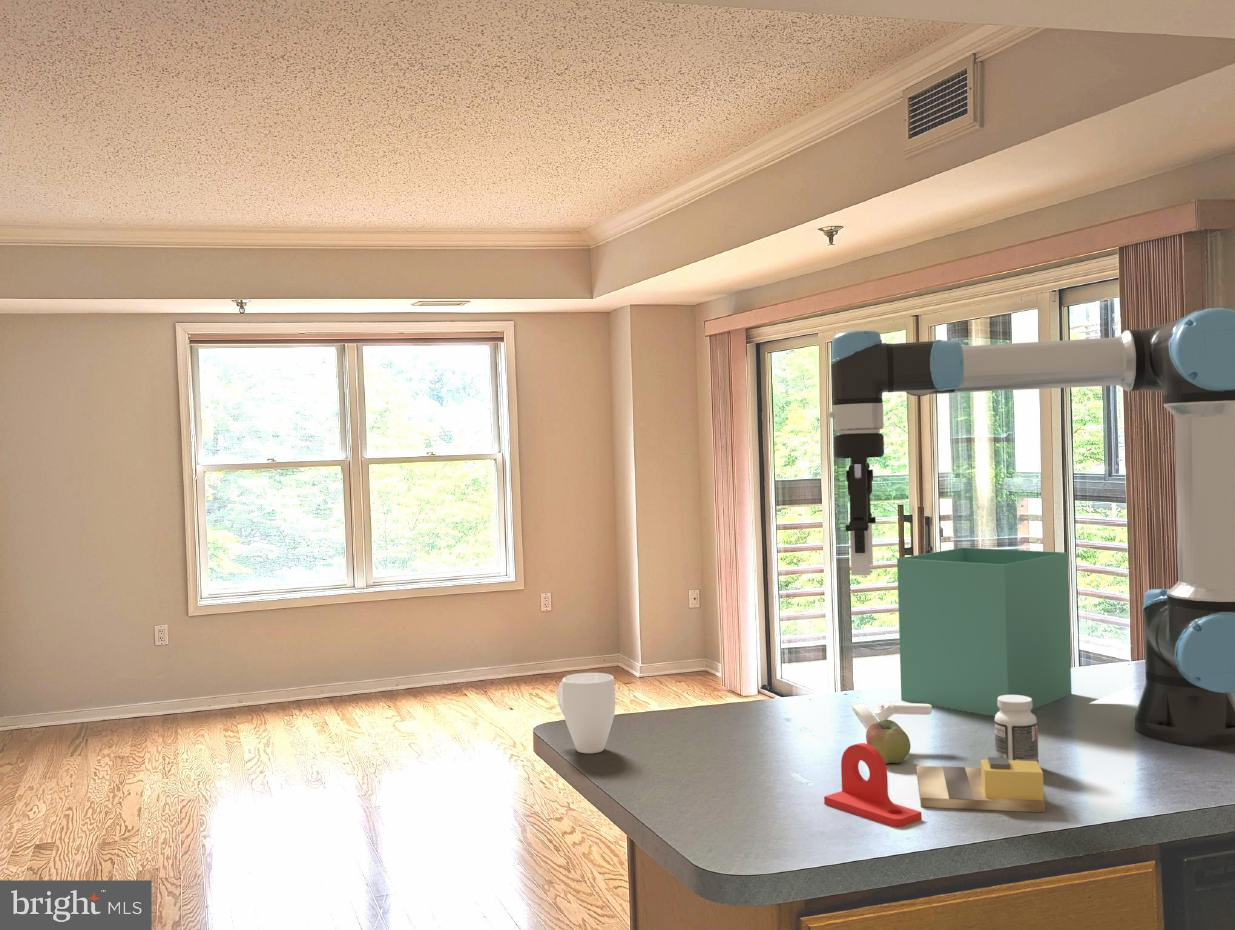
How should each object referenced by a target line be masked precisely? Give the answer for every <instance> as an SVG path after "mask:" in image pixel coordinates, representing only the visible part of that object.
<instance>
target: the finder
mask: <svg viewBox="0 0 1235 930" xmlns="http://www.w3.org/2000/svg"><path fill="white" fill-rule="evenodd" d="M980 768H981V782H982V788H983V792H984V795H985V798H1002V799H1026V800H1044V801H1045V799H1044V796H1045V795H1044V794H1045V793H1044V772H1043V770H1042V767H1041V766H1040V764H1038V762H1037V761H1016V760H1008V758H998V757H996V756H995V757H991V756H989V757H987V759H984V758H983V759H980Z"/></svg>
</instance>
